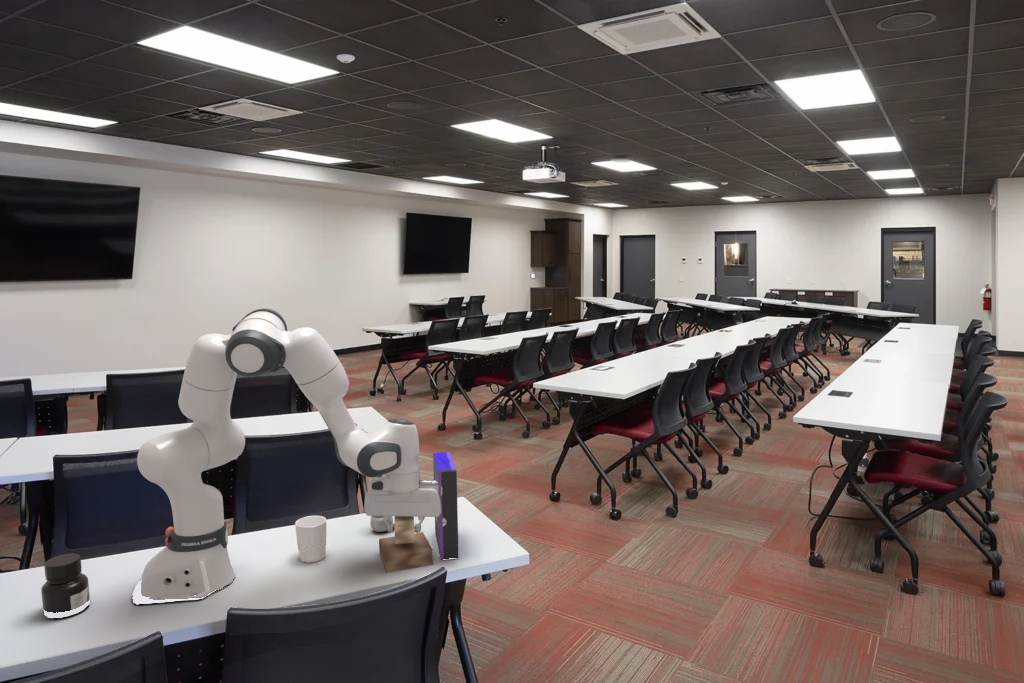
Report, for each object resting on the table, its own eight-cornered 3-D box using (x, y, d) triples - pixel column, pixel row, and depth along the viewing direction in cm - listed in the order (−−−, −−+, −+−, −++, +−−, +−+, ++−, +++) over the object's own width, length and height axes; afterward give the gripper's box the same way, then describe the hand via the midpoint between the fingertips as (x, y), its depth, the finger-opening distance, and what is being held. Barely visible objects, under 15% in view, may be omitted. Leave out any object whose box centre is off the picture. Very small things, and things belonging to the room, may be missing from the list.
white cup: (322, 548, 182) (321, 513, 180) (332, 558, 175) (330, 522, 174) (293, 555, 177) (291, 519, 176) (301, 566, 171) (299, 529, 170)
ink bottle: (86, 616, 148) (81, 565, 147) (38, 625, 145) (33, 573, 143) (94, 596, 157) (89, 547, 155) (49, 604, 153) (44, 554, 152)
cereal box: (435, 533, 190) (432, 452, 187) (451, 532, 191) (449, 451, 188) (440, 560, 173) (438, 471, 170) (458, 558, 174) (456, 470, 171)
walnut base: (386, 572, 167) (385, 557, 166) (379, 553, 178) (378, 538, 178) (433, 564, 171) (432, 550, 170) (423, 546, 182) (422, 532, 182)
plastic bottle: (396, 525, 196) (393, 460, 194) (389, 535, 189) (387, 467, 187) (374, 525, 197) (372, 460, 194) (367, 534, 190) (364, 467, 188)
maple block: (394, 544, 171) (394, 521, 170) (395, 536, 176) (394, 514, 175) (414, 542, 172) (414, 520, 171) (414, 534, 176) (413, 513, 176)
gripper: (444, 476, 174) (445, 527, 176) (368, 475, 176) (370, 525, 177) (440, 484, 168) (441, 537, 170) (361, 483, 169) (363, 535, 171)
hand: (404, 531), depth 173 cm, fingers closed on maple block, 6 cm apart
